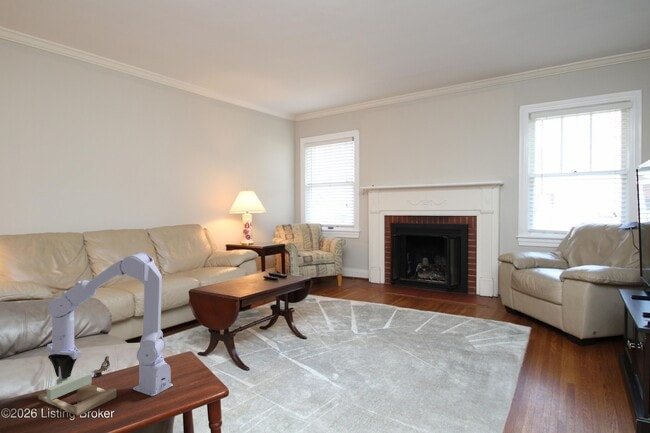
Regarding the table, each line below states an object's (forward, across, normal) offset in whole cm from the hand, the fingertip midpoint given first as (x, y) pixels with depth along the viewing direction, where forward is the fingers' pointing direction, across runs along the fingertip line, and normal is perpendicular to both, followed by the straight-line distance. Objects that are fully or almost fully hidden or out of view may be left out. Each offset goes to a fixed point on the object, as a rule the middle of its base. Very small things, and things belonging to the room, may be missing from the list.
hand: (63, 376), depth 117 cm
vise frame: (+5, +8, 0) cm, 9 cm away
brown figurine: (+5, -3, +15) cm, 16 cm away
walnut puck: (+5, +12, 0) cm, 13 cm away
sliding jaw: (+4, +2, 0) cm, 4 cm away
